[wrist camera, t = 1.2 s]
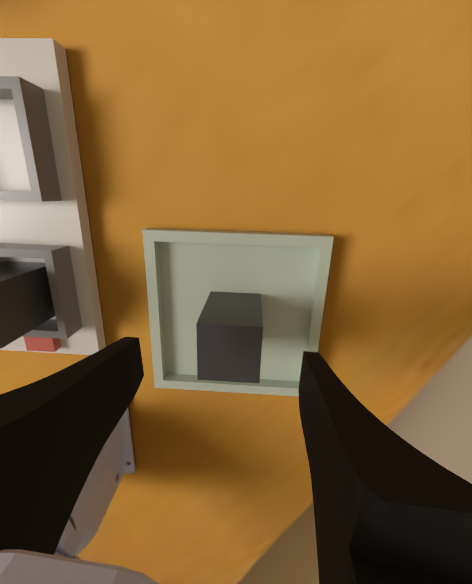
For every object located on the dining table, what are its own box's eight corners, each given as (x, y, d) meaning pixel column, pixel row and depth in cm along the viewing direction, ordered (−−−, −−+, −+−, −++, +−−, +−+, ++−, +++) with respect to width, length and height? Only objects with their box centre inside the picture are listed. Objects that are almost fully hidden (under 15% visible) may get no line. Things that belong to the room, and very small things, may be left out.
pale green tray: (308, 386, 25) (311, 397, 24) (159, 377, 26) (154, 387, 25) (328, 234, 21) (333, 236, 20) (149, 227, 22) (142, 229, 20)
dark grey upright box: (257, 338, 24) (259, 383, 18) (210, 336, 24) (197, 379, 18) (260, 293, 22) (263, 326, 17) (210, 291, 23) (196, 323, 17)
